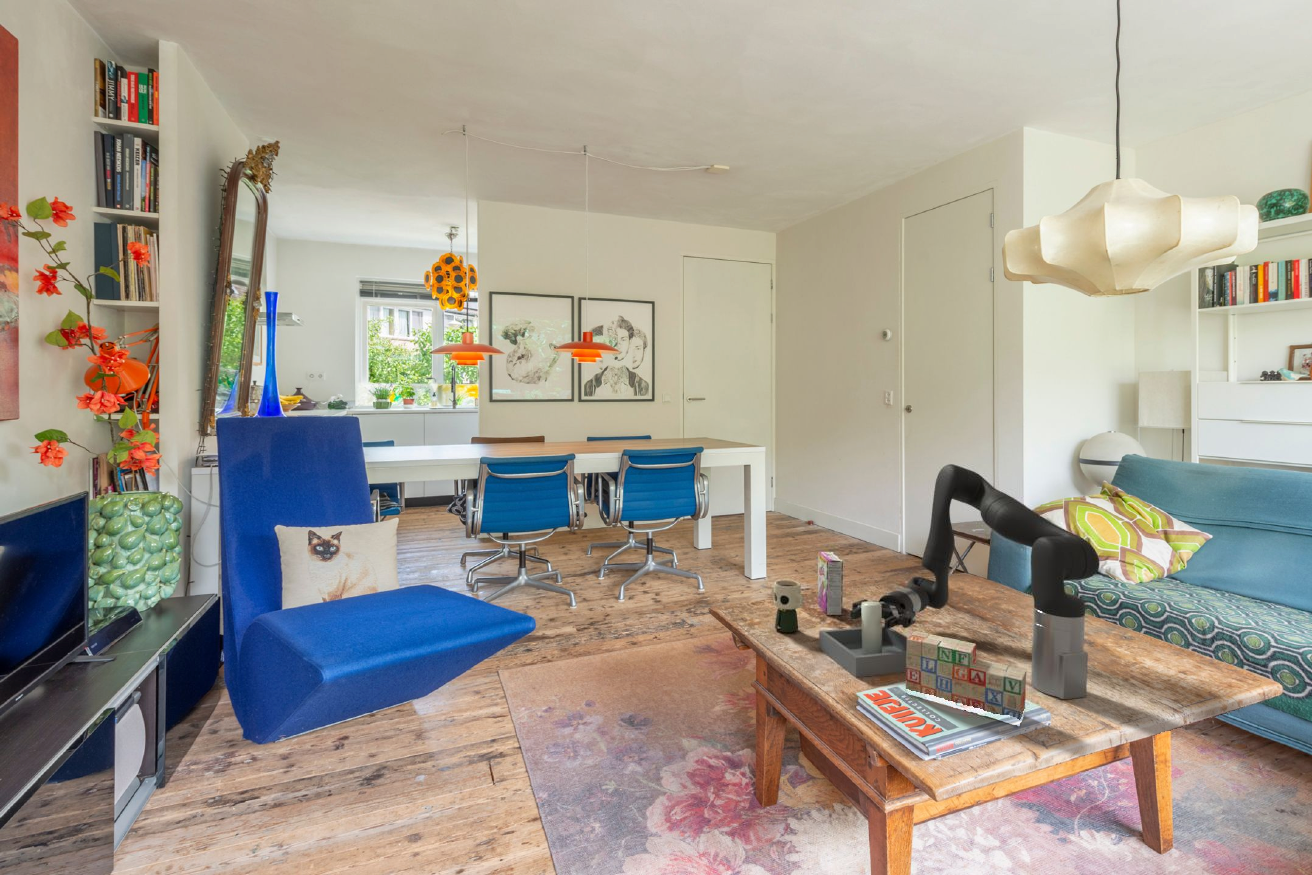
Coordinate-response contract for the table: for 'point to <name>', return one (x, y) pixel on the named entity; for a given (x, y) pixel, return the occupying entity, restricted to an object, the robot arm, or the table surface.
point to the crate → (848, 654)
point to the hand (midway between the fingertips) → (869, 619)
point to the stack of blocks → (963, 675)
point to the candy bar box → (830, 583)
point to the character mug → (787, 604)
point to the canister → (871, 628)
